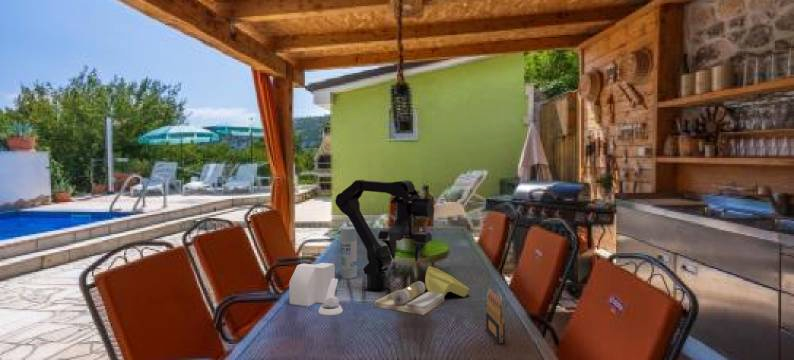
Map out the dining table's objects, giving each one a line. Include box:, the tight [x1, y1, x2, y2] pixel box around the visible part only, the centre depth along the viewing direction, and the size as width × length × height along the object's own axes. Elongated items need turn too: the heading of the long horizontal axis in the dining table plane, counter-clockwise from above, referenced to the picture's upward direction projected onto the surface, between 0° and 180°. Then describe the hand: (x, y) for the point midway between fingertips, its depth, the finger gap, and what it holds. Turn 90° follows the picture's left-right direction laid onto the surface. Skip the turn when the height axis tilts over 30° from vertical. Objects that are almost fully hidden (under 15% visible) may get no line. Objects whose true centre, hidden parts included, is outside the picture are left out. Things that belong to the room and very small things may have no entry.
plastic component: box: [424, 265, 470, 298], centre depth 178 cm, size 20×7×10 cm
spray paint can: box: [339, 226, 358, 280], centre depth 199 cm, size 6×6×20 cm
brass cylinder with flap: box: [386, 283, 420, 301], centre depth 165 cm, size 6×9×4 cm, turn 61°
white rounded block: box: [288, 262, 336, 307], centre depth 168 cm, size 11×11×12 cm
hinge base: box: [373, 280, 445, 316], centre depth 164 cm, size 18×16×6 cm
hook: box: [317, 278, 343, 316], centre depth 159 cm, size 8×12×7 cm
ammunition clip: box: [485, 288, 506, 345], centre depth 134 cm, size 11×2×12 cm, turn 7°
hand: (404, 259), depth 175 cm, fingers open, 9 cm apart
